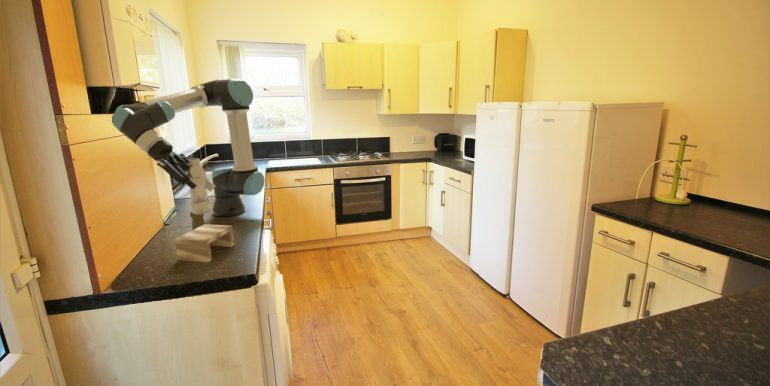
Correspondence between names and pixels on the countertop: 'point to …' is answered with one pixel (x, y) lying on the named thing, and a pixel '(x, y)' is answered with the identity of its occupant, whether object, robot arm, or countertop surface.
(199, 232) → the birch shelf
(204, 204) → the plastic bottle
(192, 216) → the cork
